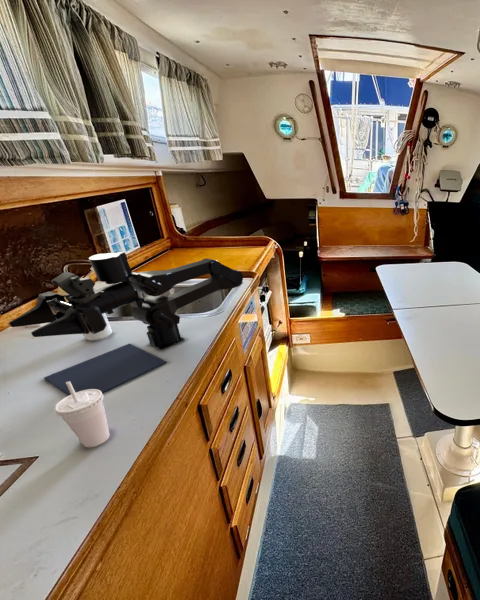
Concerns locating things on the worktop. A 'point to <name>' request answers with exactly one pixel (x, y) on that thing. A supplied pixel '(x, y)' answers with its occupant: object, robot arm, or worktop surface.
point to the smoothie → (85, 415)
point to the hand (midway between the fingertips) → (21, 329)
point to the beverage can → (102, 334)
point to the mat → (106, 370)
